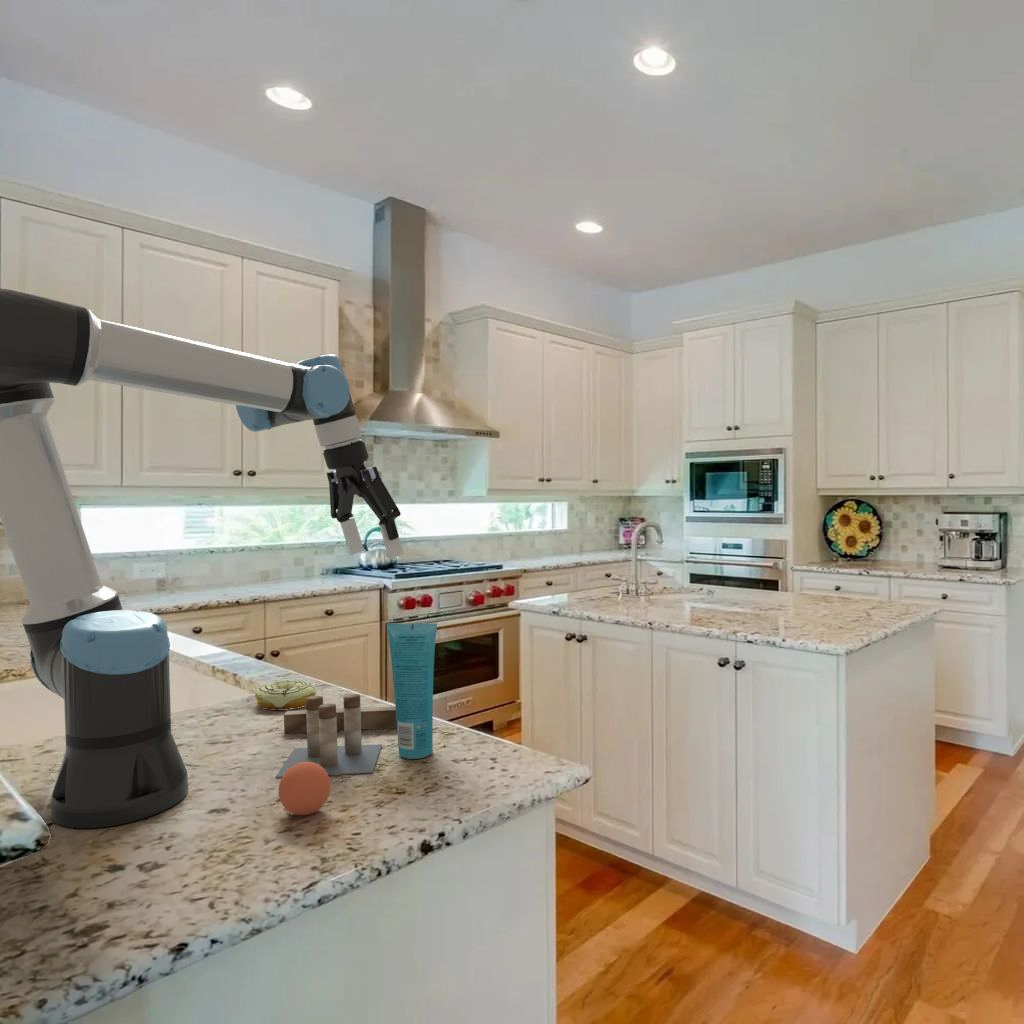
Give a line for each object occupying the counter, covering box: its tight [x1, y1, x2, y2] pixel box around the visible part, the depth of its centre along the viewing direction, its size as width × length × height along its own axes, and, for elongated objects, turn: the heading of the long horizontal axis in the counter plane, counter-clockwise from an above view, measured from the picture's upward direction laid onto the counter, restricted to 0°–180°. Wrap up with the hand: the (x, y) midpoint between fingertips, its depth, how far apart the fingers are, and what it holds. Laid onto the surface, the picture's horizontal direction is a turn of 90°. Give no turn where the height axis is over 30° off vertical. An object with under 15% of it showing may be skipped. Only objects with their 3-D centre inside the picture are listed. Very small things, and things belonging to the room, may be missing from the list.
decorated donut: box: [254, 679, 317, 710], centre depth 133 cm, size 10×11×4 cm
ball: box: [277, 762, 332, 816], centre depth 86 cm, size 6×6×6 cm
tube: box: [386, 622, 438, 760], centre depth 105 cm, size 7×5×19 cm, turn 89°
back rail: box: [283, 706, 397, 734], centre depth 117 cm, size 20×2×3 cm, turn 94°
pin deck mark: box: [275, 743, 383, 777], centre depth 103 cm, size 13×11×1 cm
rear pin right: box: [305, 695, 324, 757], centre depth 105 cm, size 2×2×8 cm
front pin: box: [319, 703, 338, 768], centre depth 101 cm, size 2×2×8 cm
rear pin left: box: [342, 693, 363, 755], centre depth 105 cm, size 2×2×8 cm
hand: (376, 554), depth 132 cm, fingers open, 13 cm apart
